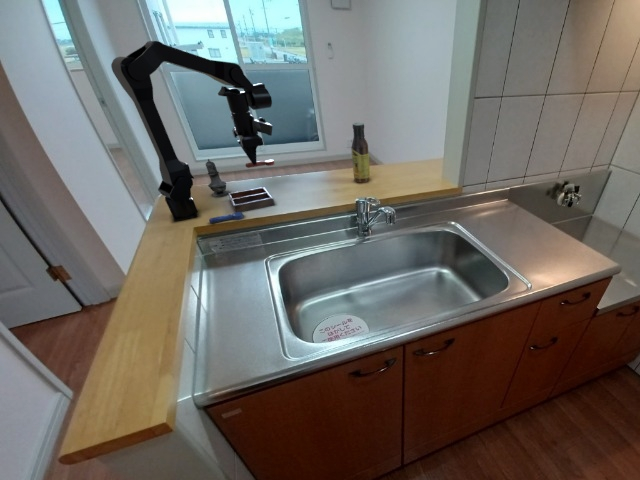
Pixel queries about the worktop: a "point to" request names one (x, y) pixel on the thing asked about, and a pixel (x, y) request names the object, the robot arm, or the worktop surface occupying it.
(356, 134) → the sauce bottle
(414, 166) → the worktop surface
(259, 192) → the tray
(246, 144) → the robot arm
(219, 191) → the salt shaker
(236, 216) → the blue flashlight
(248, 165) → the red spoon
